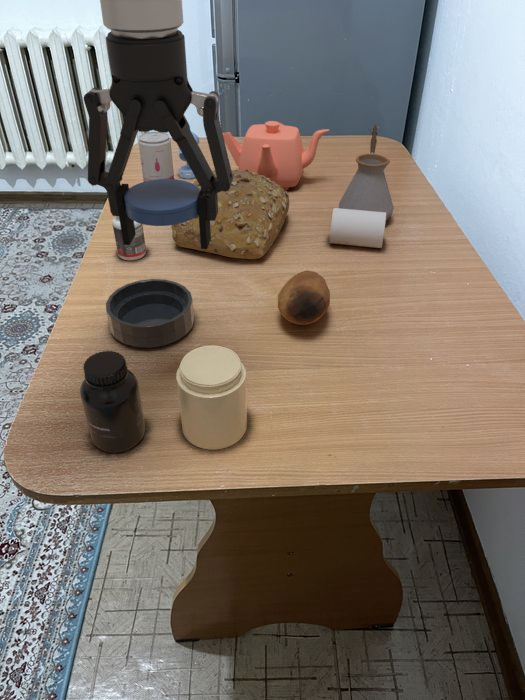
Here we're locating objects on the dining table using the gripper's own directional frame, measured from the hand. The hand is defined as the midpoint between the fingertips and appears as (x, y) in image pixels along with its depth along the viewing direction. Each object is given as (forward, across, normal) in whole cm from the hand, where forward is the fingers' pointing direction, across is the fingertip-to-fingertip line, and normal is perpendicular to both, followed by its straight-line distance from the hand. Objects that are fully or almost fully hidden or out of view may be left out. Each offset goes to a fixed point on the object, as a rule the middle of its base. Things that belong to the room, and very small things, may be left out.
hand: (167, 241), depth 68 cm
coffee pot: (+21, -29, -58) cm, 68 cm away
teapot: (+21, -8, -70) cm, 74 cm away
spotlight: (+21, +13, -73) cm, 77 cm away
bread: (+21, -1, -43) cm, 48 cm away
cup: (+21, -26, -42) cm, 54 cm away
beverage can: (+21, +16, -55) cm, 61 cm away
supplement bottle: (+21, +6, +13) cm, 25 cm away
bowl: (+21, +7, -11) cm, 25 cm away
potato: (+21, -17, -15) cm, 31 cm away
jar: (+21, -6, +10) cm, 24 cm away
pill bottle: (+21, +16, -33) cm, 42 cm away
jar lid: (-6, 0, 0) cm, 6 cm away
